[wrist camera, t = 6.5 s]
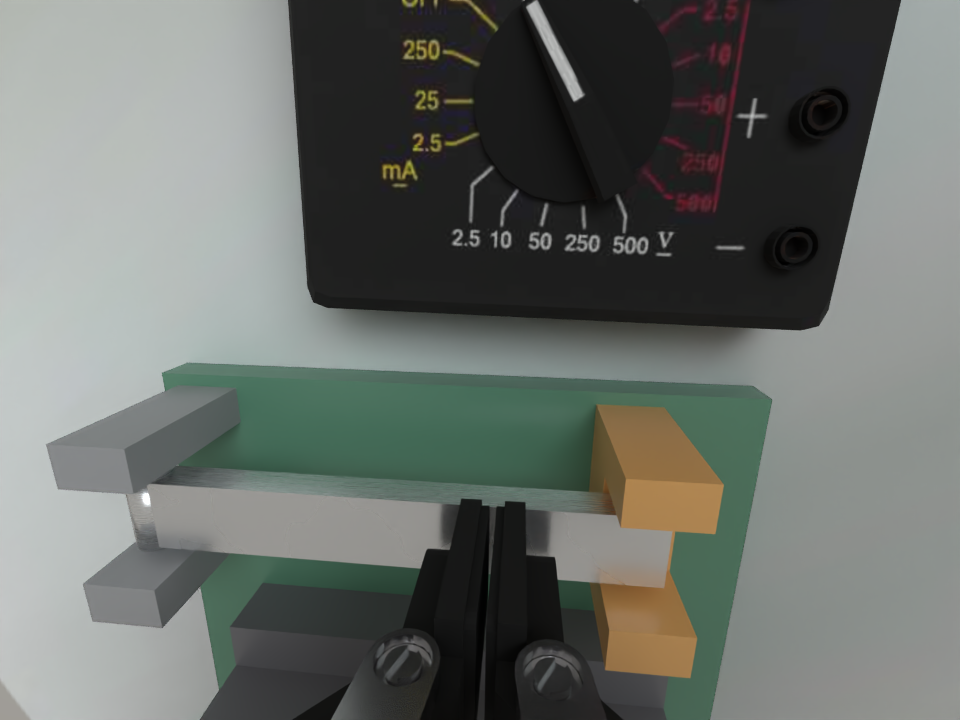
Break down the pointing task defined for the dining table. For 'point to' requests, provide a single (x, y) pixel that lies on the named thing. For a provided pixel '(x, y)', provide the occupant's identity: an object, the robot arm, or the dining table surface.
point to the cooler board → (447, 459)
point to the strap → (383, 521)
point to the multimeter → (584, 154)
